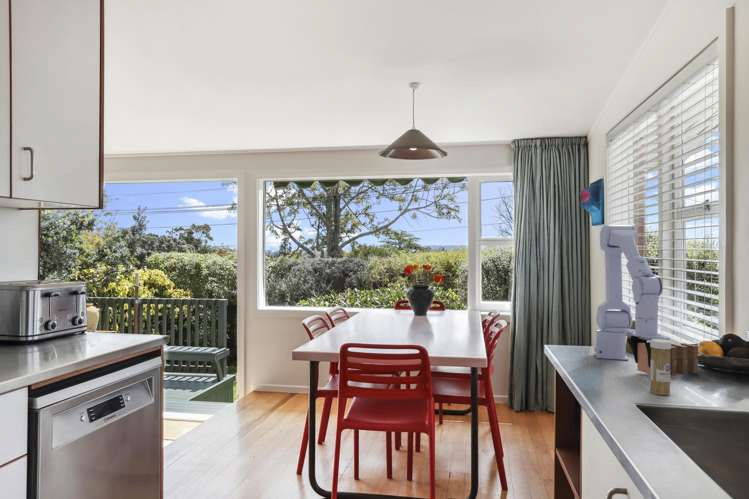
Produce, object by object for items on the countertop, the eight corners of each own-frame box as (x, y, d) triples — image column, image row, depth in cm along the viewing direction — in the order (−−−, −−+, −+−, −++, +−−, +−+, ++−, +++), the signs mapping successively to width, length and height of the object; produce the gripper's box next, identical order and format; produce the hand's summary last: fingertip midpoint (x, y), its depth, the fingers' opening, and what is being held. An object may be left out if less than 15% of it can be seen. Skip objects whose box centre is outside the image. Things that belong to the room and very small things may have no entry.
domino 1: (649, 374, 143) (650, 345, 143) (637, 370, 147) (637, 342, 147) (653, 373, 143) (654, 345, 143) (641, 369, 148) (641, 342, 148)
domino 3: (683, 374, 146) (683, 346, 146) (670, 370, 151) (670, 343, 150) (687, 373, 147) (687, 346, 147) (674, 370, 151) (674, 343, 151)
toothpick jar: (665, 397, 124) (666, 342, 124) (646, 392, 127) (647, 339, 127) (673, 394, 126) (674, 340, 126) (654, 389, 130) (655, 337, 130)
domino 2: (672, 375, 145) (672, 347, 145) (659, 371, 149) (659, 344, 149) (676, 374, 146) (676, 347, 145) (663, 371, 150) (663, 344, 150)
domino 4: (693, 373, 147) (694, 346, 147) (680, 369, 152) (681, 343, 152) (697, 373, 148) (698, 345, 148) (684, 369, 152) (684, 343, 152)
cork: (647, 354, 173) (648, 322, 173) (629, 353, 173) (630, 321, 173) (638, 350, 179) (639, 319, 179) (621, 350, 179) (622, 319, 179)
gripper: (616, 314, 151) (615, 360, 151) (655, 322, 137) (654, 371, 137) (635, 314, 153) (634, 358, 153) (676, 321, 139) (675, 370, 139)
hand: (645, 364), depth 145 cm, fingers closed on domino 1, 4 cm apart
